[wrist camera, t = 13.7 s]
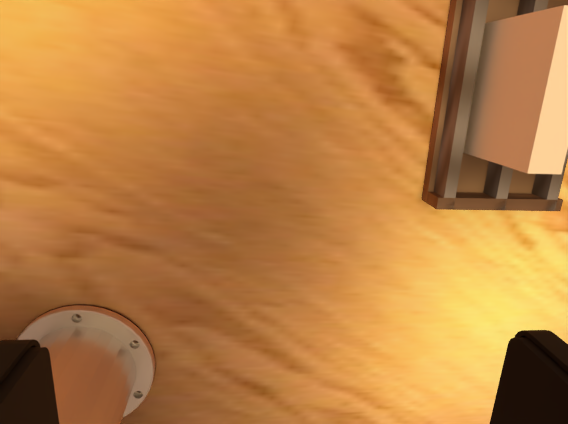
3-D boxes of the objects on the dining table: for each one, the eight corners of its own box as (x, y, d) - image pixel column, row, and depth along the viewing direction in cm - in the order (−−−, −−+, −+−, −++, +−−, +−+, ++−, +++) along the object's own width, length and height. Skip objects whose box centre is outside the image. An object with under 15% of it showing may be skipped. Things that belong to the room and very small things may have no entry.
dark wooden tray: (536, 201, 39) (560, 211, 37) (421, 199, 38) (436, 209, 35) (589, -28, 34) (621, -37, 31) (456, -38, 33) (477, -50, 30)
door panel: (485, 152, 36) (561, 174, 28) (459, 151, 36) (527, 173, 28) (509, 26, 33) (601, 7, 25) (480, 24, 33) (564, 4, 25)
